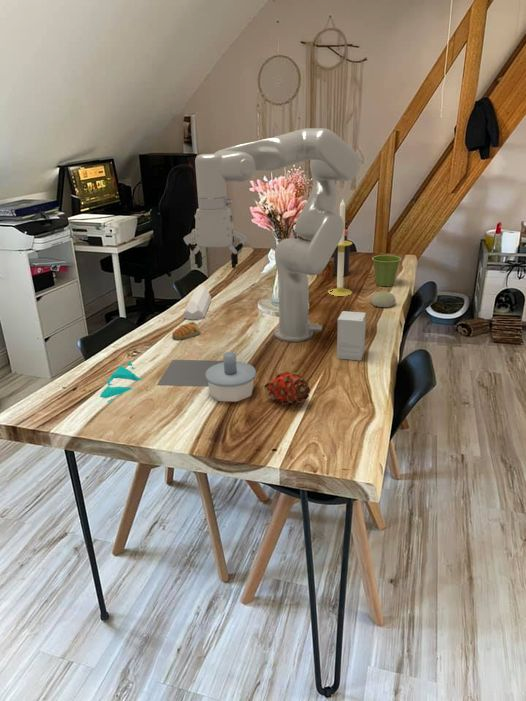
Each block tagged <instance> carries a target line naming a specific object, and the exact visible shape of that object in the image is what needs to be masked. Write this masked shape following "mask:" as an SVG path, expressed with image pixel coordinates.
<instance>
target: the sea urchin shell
mask: <svg viewBox="0 0 526 701" xmlns="http://www.w3.org/2000/svg"><path fill="white" fill-rule="evenodd" d="M396 301H397V299H396V297H395V295H394V294H393V293H392V292H390V291H389V292H388V291H386V290H381V291H377V292H375V293H373V294H372V296H371V298H370V303H371V305H373V306H374V307H376V306H377V307H378V308H382V307H383V308H385V307H387V308H391V307H393V306H395V304H396Z"/></svg>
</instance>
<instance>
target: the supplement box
mask: <svg viewBox="0 0 526 701" xmlns="http://www.w3.org/2000/svg"><path fill="white" fill-rule="evenodd" d="M366 319H367V312H361V311H360V312H359V311H358V312H357V311H346V310H343V311H341V313H340V314H339V316H338V318H337V336H336V338H337V340H336V341H337V342H336V359H341V360H349V361H352V360H353V361H362V359H363V356H364V354H365V344H366V343H365V342H366V340H365V339H366V321H367V320H366Z"/></svg>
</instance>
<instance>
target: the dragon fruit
mask: <svg viewBox="0 0 526 701" xmlns="http://www.w3.org/2000/svg"><path fill="white" fill-rule="evenodd" d="M276 375H277V376H275V377H274V378H273V379H271V380H270V381H268V382H267V383H265V385H264V389H266V390H267V391H269V392H268V395H269V396H270V397H271V400H272V401H274V400H281V404H282V405H283V406H286V405H288V404H289V403H291V404H292V405H296V404H298V403H301V402H303V401H304V400H305V401H306V400H307V399H308V398H309V397H310V396H309V393H310V392H311V388H310V386H309V383H308V381H307V380H306V379H305V378H304V377H301V375H300V374H298V373H297V372H292V373H290V372H288V371H283V372H281V373H279V374H276Z"/></svg>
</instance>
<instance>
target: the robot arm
mask: <svg viewBox="0 0 526 701" xmlns="http://www.w3.org/2000/svg"><path fill="white" fill-rule="evenodd" d="M306 161H310V163H309V169H310V174H311V178H312V190H311V193H310V196H309V198H308V199H307V201H306V203H305V205H304V206H303V208H302V210H301V212H300V213H299V216H298V217H297V218H296V222H295V225H294V230H295V233H296V234H297V235H298V236H299V237H301V238H303V239H299V238H293V237H292V238H291V237H290V238H288V237H287V238H284V239H282V240H280V241H279V242H278V244H277V245H276V247H275V249H274V259H275V260H274V261H275V266H276V270H277V271H276V272H277V280H278V325H279V326H278V328H276V329H275V330H274V337H276V338H277V339H278V340H281V341H284V342H291V343H293V342H302V341H303V342H304V341H306V340H309V339H311V338H312V337H313V335H314V332H322V331H323V325H319V323H312V322H310V320H311V319H310V318H309V278H308V276H316V275H319V274H320V273H322V271H323V270H325V268H326V266H327V265H328V263H329V261H330V259H331V258H332V256H333V255H334V251H335V249H336V247H337V245H338V243H339V242H340V240H341V237H342V235H343V230H344V223H343V219H342V217H341V216H340V213H337V212H335V211H334V210H335V208H336V206H337V203H338V198H339V197H338V196H339V194H338V187H337V185H336V181H339V182H340V181H341V182H349V181H351V180H354V179H355V178H356V177H357V175H358V174H359V171H360V167H361V163H360V158H359V156H358V154H357V152H355V150H354V149H353V148H351V147H350V145H349V144H347V143H346V142H345V140H343V139H342V137H340V136H339V135H338V134H336V133H335V132H334V131H332V130H331V129H328V128H325V127H323V128H320V127H319V128H317V127H312V128H307V127H306V128H301V129H297V130H294V131H291V132H287V133H284V134H281V135H276V136H274V137H273V136H272V137H269V138H264V139H259V140H256V141H252V142H247V143H242V144H238V145H237V144H236V145H233V146H229V147H227V148H223V149H220V150H217V151H216V152H214V153H202V154H198V155H196V157H195V160H194V164H195V176H196V178H195V179H196V190H197V192H196V193H197V203H198V208H197V209H196V213H195V225H194V226H195V229H194V230H193V231H192V232H190V233H189V234H187V235H185V236H184V237H183V241H184V243H185V244H186V246H187V248H188V249H189V250H190V251H191V252H192V253H193V255H194V260H195V261H194V263H195V265H196V266H197V269H201V268H202V266H203V257H202V251H201V249H202V248H227V249H229V250H230V252H232V253H231V254H230V255H231V256H230V258H231V268H232V269H236V267H237V265H238V263H239V257H238V256H239V255H238V253H239V251H240V250H241V249H243V247H244V244H245V243H246V241H247V239H248V237H247V236H246V235H245V234H243V233H240V232H239V231H236V229H235V227H234V221H233V214H232V209H231V208H230V207H228V206H229V205H233V199H232V198H228V196H227V183H226V182H235V183H243V182H246V181H248V180H250V179H251V178H252V177H253V176H254V174H255V172H256V171H275V170H276V171H277V170H280V169H284V168H286V167H289V166H292V165H296V164H299V163H302V162H306ZM193 238H195V244H196V245H195V244H194V243H193V242H192V240H191V239H193ZM235 238H236V239H239V243H238V245H236V244H235V243H234V242H235ZM304 239H305V240H304ZM307 240H309V241H307Z"/></svg>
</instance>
